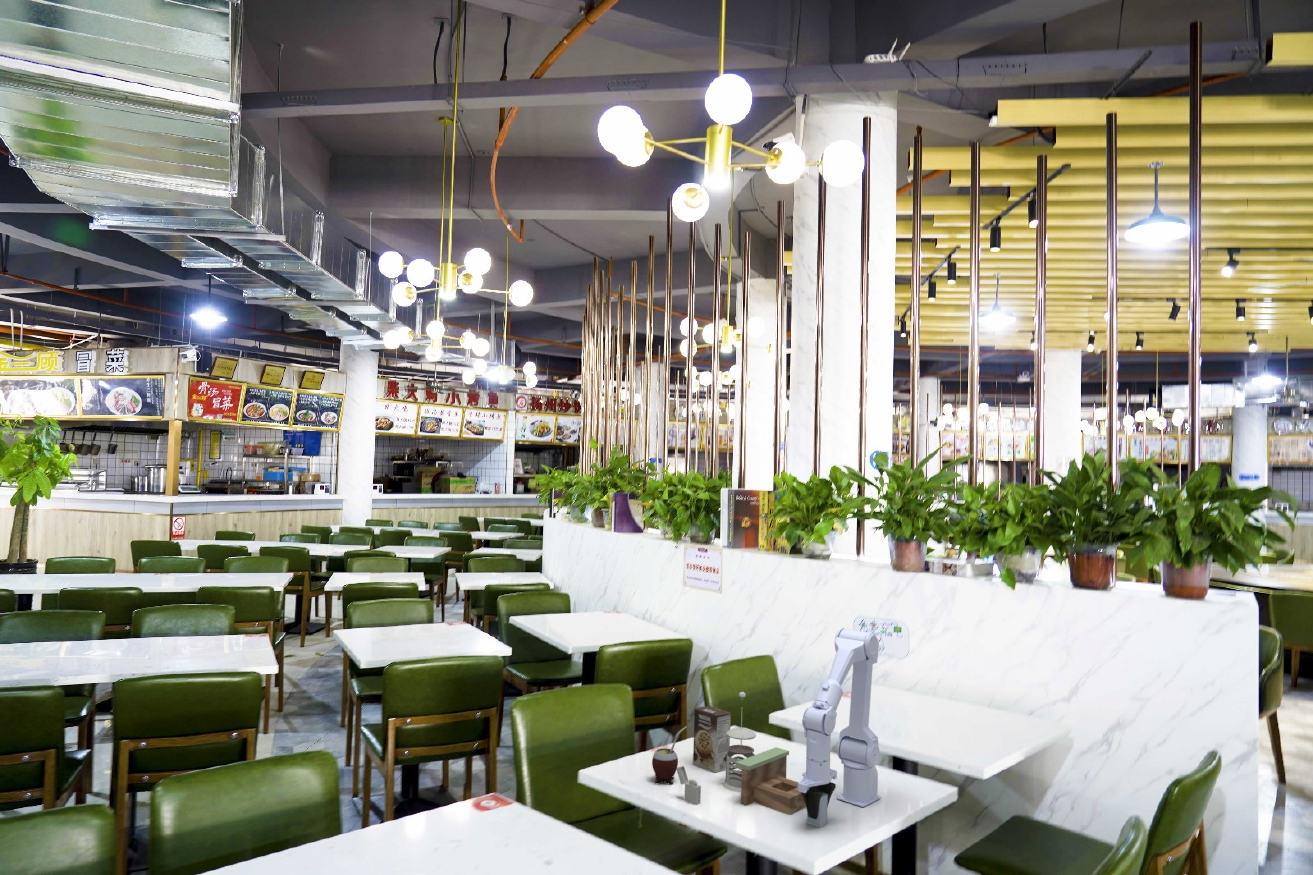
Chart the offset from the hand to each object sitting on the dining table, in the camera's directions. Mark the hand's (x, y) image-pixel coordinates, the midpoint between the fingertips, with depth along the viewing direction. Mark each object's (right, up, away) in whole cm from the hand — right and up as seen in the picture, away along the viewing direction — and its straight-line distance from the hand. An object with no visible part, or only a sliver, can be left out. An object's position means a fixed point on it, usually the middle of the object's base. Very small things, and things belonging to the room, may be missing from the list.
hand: (817, 815), depth 201 cm
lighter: (-31, -2, +12) cm, 33 cm away
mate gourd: (-36, -3, +26) cm, 44 cm away
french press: (-17, -3, +24) cm, 30 cm away
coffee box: (-23, -4, +38) cm, 45 cm away
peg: (0, -2, 0) cm, 2 cm away
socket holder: (-7, -2, +14) cm, 16 cm away
